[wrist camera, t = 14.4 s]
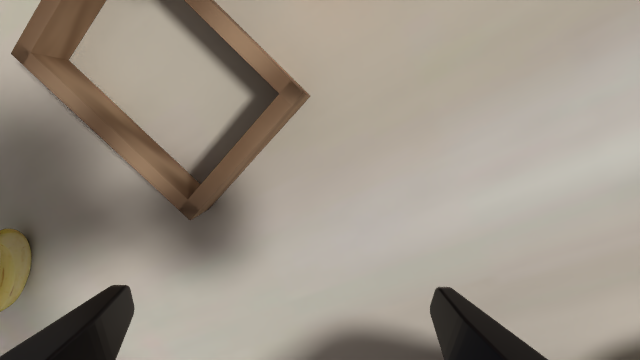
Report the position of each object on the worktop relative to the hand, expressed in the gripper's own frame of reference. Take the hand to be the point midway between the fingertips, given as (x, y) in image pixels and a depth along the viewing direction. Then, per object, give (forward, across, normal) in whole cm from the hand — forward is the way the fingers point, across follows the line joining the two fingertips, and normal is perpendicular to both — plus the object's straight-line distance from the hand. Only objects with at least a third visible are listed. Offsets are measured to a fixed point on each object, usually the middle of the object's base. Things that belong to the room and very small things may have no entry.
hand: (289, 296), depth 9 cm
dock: (+15, +8, -4) cm, 18 cm away
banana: (+15, +22, +11) cm, 29 cm away
